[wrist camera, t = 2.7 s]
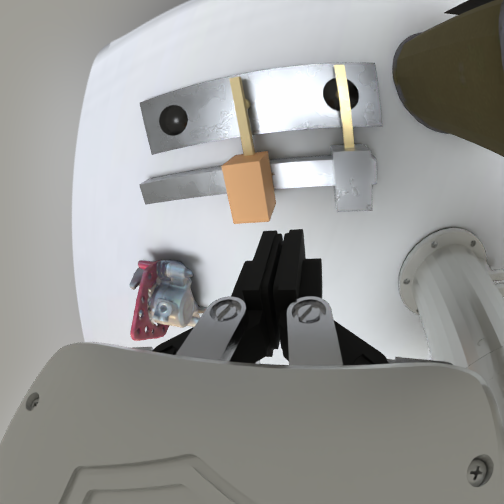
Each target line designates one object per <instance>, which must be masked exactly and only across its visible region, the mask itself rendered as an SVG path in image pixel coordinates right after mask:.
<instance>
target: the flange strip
mask: <svg viewBox="0 0 504 504" xmlns="http://www.w3.org/2000/svg"><path fill="white" fill-rule="evenodd" d="M334 65H344V66H345V72H346V79H347V85H348V92H349V100H350V107H351V116H352V126H353V127H361V126H382V116H381V106H380V97H379V89H378V81H377V74H376V68H375V63H325V64H310V65H299V66H289V67H281V68H274V69H267V70H260V71H254V72H249V73H243V74H238V75H234V76H229V77H224V78H220V79H216V80H212V81H208V82H204V83H200V84H196V85H193V86H189V87H186V88H182V89H179V90H176V91H172V92H169V93H166V94H163V95H160V96H157V97H154V98H152V99H149V100H146V101H143V102H141V103H140V107H141V111H142V116H143V120H144V125H145V129H146V133H147V137H148V141H149V145H150V149H151V153H152V155H153V154H157V153H161V152H165V151H169V150H173V149H178V148H182V147H187V146H192V145H196V144H201V143H206V142H212V141H217V140H223V139H229V138H235V137H240V132H239V127H238V121H237V116H236V111H235V106H234V101H233V95H232V90H231V85H230V80H229V78H234V77H241V79H242V85H243V90H244V95H245V99H247V100H249V101H250V107H249V108H248V109H247V111H248V117H249V122H250V128H251V133H252V135H255V134H263V133H271V132H280V131H290V130H301V129H314V128H330V127H342V122H341V113H340V105H339V99H338V98H337V97H336V91H337V84H336V78H335V72H334Z"/></svg>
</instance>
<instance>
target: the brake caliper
mask: <svg viewBox="0 0 504 504" xmlns="http://www.w3.org/2000/svg"><path fill="white" fill-rule="evenodd" d="M138 266H139V268H138V269H137V270H136V272H135V273H134V276H133V278H132V280H131V283H130V288H131V289H133V290H135V289H136V287H137V286H138V285H139V291H138V296H137V299H136V306H135V310H134V316H133V321H132V327H131V338H132V339H133V340H136V341H137V340H138V341H140V340H146V339H153V338H154V339H155V338H159V337H163V336H164V335H165V334H166V332H167V329H168V327H169V325H171V326H177V327H182V328H183V327H185V326H192V327H195V325H196V324H197V322H198V321H199V319H200V316H199V314H198V313H204V312H205V310H206V309H207V308H205V307H200V306H198V305H197V302H196V301H195V299H194V298H193V295H192V292H191V289H190V286H191V283H192V281H191V279H190V277H192V276H193V273H192V272H191V271H190V270H189V269H188V268H186V267H185V266H184V264H183V263H181V262H179V261H176V260H168V261H166V260H158V261H155V262H150V261H139V262H138ZM139 315H140V316H141V317H140V316H139ZM153 322H157V324H158V326H156V325H155V324H154V323H153ZM146 326H147V331H146V332H145V327H146ZM152 329H153V331H152Z"/></svg>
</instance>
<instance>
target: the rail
mask: <svg viewBox="0 0 504 504" xmlns="http://www.w3.org/2000/svg"><path fill="white" fill-rule="evenodd" d="M269 161H270V167H271V174H272V180H273V187H274V189H282V188H297V187H313V186H332V185H334V177H333V164H332V155H326V156H309V157H296V158H284V159H274V160H269ZM371 162H372V184H377V174H376V158H375V157H374V156H373V155H372V154H371ZM140 188H141V192H142V195H143V198H144V201H145V204H151V203H158V202H165V201H172V200H179V199H186V198H194V197H202V196H210V195H219V194H227V190H226V186H225V181H224V176H223V171H222V167H221V166H217V167H211V168H204V169H198V170H192V171H187V172H181V173H176V174H170V175H165V176H160V177H155V178H151V179H148V180H146V181H144V182H143V183H141V184H140Z"/></svg>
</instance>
